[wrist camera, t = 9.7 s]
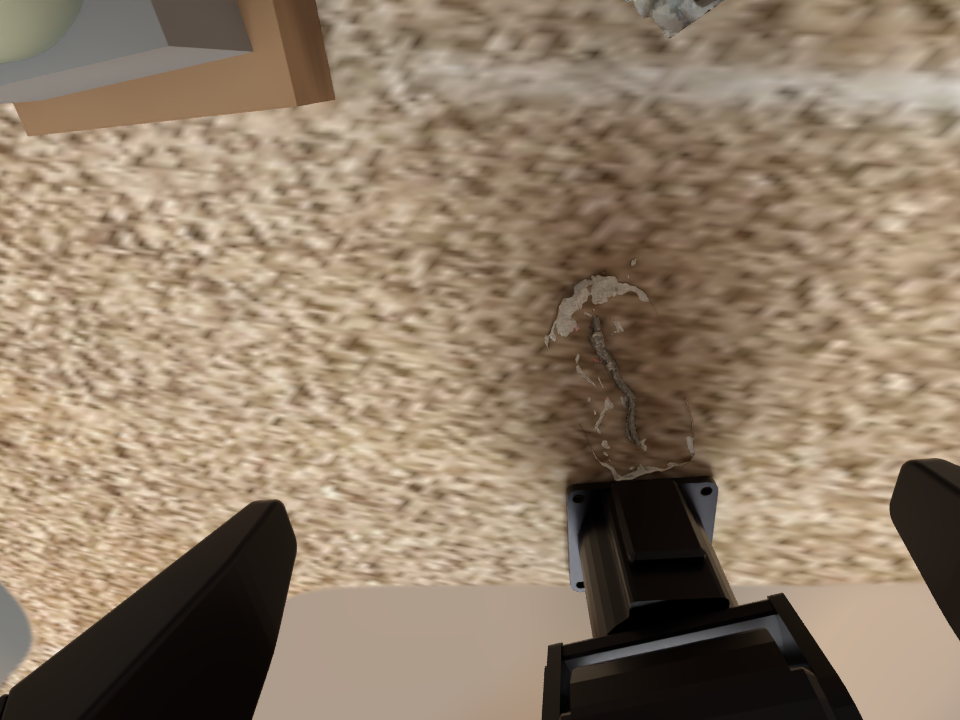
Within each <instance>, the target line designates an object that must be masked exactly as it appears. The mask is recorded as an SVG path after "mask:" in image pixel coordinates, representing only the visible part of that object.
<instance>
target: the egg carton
mask: <svg viewBox="0 0 960 720" xmlns="http://www.w3.org/2000/svg"><path fill="white" fill-rule="evenodd" d="M624 1H625V2H626V3H628V2H631V1H633V2H634V4H635V7H636V9H637V11H638V13H639V15H641V16H642V17H643V18H646V17H651V18H653V19H654V21H655V22H656V23H657V24H658V25H659V27H660V28H661V29H662V30H663V32H664V35H665V37H667V38H672V37H673V36H674V35H676V34H677V33H679V32H680V31H681V30H682V29H684V28H685V27H687V26H688V25H690V24H691V23H693V22H694V21H696V20H697V19H699V18H700V17H702V16H703V15H704V14H706V13H707V12H709V11H710V10H711V9H713V8H714V7H715V6H717V5H718V4H719V3H721V2H722V1H723V0H699V1H697V2H696V1H695V0H624Z"/></svg>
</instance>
